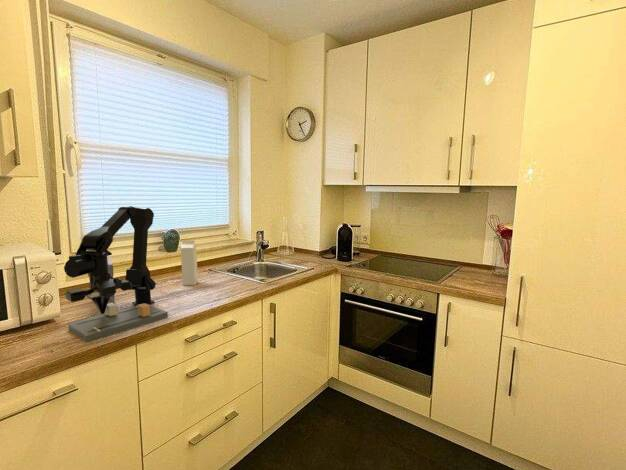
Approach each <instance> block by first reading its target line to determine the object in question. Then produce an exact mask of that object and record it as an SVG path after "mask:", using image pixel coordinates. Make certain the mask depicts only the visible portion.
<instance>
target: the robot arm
mask: <svg viewBox="0 0 626 470" xmlns="http://www.w3.org/2000/svg"><path fill="white" fill-rule="evenodd" d="M154 217H155V215H154V211H153V209H151V208H150V207H135V206H132V205H130V206H129V205H122V206H119V207H118V210H117V211H116V212H114V214H112V216H111V217H110V218H108V219H107V220H106V221H105V222H104V223H103V224H102V225H101V226H100V227H98V228H96V229H94V230H91V231H90V232H88V233H86V234H85V235H84V236H83V237H82V240H81V242H80V245H79V246H78V249H77V250H76V253H75V255H69V256H68V260H67V261H65V264H64V266H63V270H64V272H65V274H66V275H67V277H69V278H72V279H73V278H77V277H80V276H85V275H87V277H88V279H89V284H88V288H89V289H81V288H74V289H69V290H67V291H66V293H65V299H66V300H67V301H69V302H71V303H74V302H79V301H83V300H84V299H86V298H87V299H89V300H92V302H93V303H94V304H95V306H96V308H97V310H98V312H99V313H100V315H104V314H105V309H106V306H107V303H108V301H109V299H110V297H111V296H113V295H114V296H115V294H117V290H119V289H120V290H121V291H123V292H126V291H131V290H132V291H134V299H135V300H134V301H133V302H131V304H132V305H134V306H137V305H139V304H143V303H145V304H146V303H147V304H149V305H152V304H155V300H152V296H151V291H152V290H154V289H155V288H156V285H157V284H156V281H155V280H154V279H152V277H151V271H150V270H149V267H148V266H147V256H148V254H147V253H148V235H149V234H148V233H149V229H150V228H151V227H152V225H153V224H154V223H153V222H154V219H155V218H154ZM129 220H130V224H131V226H132V228H133V230H134V231H133V245H132V263H131V266H130V267H129V268H128V269H126V270H125V278H124V279H122V278H121V277H115V278H113V279H111V277H110V273H109V272H108V260H107V257H110V256H112V254H113V253H112V252H111V251H109V250H108V249H109V247H110V246H111V245H112V243H113V242H114V236H115V235H116V233H117V234H118V232H119V230H121V229H122V227H123V226H125V224H126V223H127V222H128V221H129ZM99 294H100V296H99Z"/></svg>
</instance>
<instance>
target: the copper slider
mask: <svg viewBox="0 0 626 470" xmlns="http://www.w3.org/2000/svg"><path fill="white" fill-rule="evenodd" d="M150 305H151V304H149V305H147V304H145V303H143V304H139V305H137V306H138V315H140V316H142V317H145V316H149V315H150Z"/></svg>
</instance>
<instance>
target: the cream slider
mask: <svg viewBox="0 0 626 470" xmlns="http://www.w3.org/2000/svg"><path fill="white" fill-rule="evenodd" d="M117 311H118V305H117V304H116V303H115V304H114V303H109V304H107V306H106V309H105V313H104V314H107V315H109V316H113V315H117Z"/></svg>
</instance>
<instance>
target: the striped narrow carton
mask: <svg viewBox="0 0 626 470" xmlns="http://www.w3.org/2000/svg"><path fill="white" fill-rule="evenodd" d="M107 260H108V272H109V273H110V277H111V279H114V264H113V262H112V260H111V257H110V256H107ZM99 296H100V294H99ZM109 303H114V304H116V303H115V295H113V296H111V297H110V299H109V301H108V303H107V304H109Z"/></svg>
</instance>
